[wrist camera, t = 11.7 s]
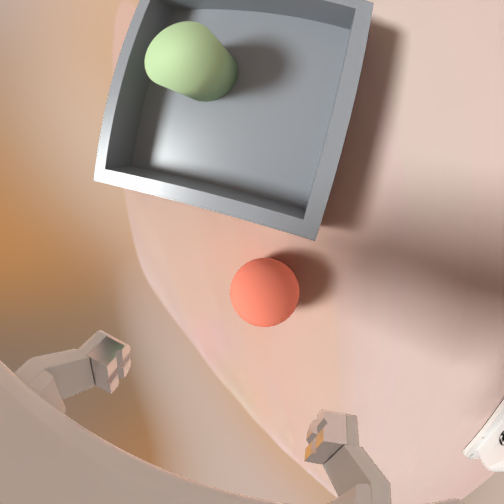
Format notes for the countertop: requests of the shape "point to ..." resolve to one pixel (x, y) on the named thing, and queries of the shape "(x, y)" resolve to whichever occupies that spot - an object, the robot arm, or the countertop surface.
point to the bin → (241, 110)
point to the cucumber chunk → (191, 62)
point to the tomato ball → (264, 292)
